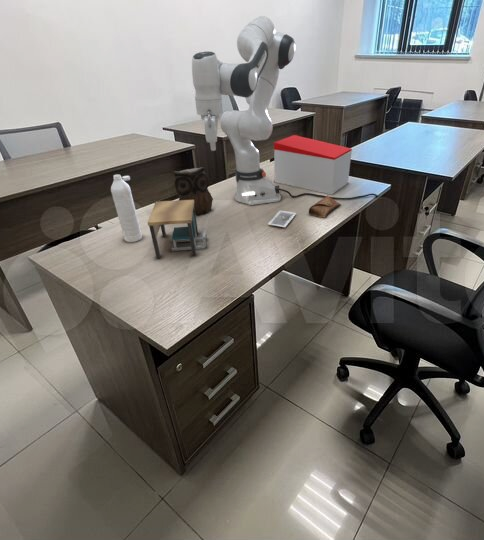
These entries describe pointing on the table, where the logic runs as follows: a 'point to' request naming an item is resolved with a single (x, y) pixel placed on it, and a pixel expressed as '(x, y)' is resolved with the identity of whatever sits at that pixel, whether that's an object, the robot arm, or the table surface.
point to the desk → (171, 219)
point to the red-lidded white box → (311, 164)
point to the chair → (187, 236)
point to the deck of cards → (282, 218)
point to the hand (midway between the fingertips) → (213, 149)
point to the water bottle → (125, 208)
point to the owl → (194, 189)
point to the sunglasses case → (323, 207)
